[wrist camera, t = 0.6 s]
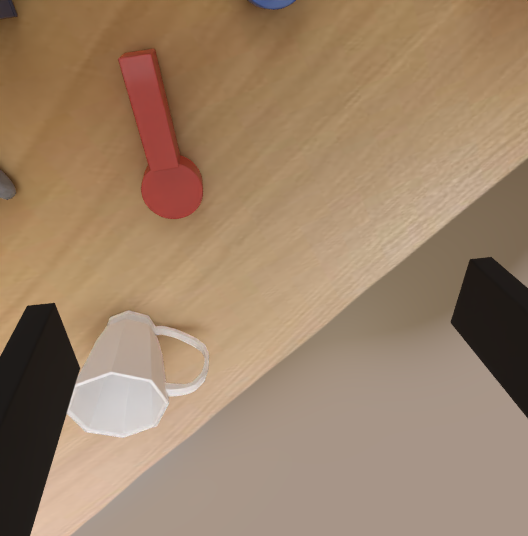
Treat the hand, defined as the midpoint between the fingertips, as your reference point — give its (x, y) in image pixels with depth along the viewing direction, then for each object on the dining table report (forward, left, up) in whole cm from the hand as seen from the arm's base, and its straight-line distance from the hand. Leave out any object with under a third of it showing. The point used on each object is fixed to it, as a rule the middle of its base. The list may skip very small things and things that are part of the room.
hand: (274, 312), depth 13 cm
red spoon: (+3, -3, -18) cm, 18 cm away
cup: (+15, +9, -18) cm, 25 cm away
